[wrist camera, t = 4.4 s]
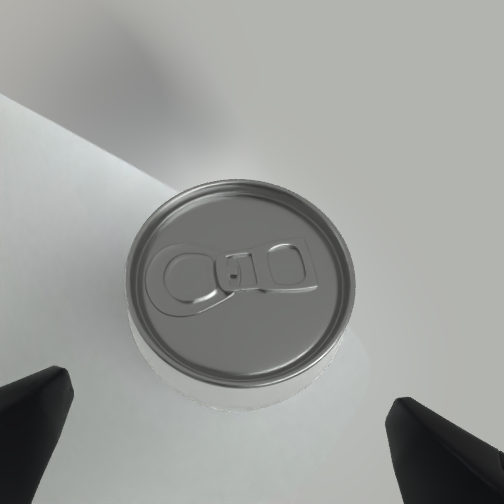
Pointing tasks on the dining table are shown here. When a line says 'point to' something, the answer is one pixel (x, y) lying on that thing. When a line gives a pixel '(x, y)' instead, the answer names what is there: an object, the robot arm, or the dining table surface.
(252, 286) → the can
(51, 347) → the dining table surface
